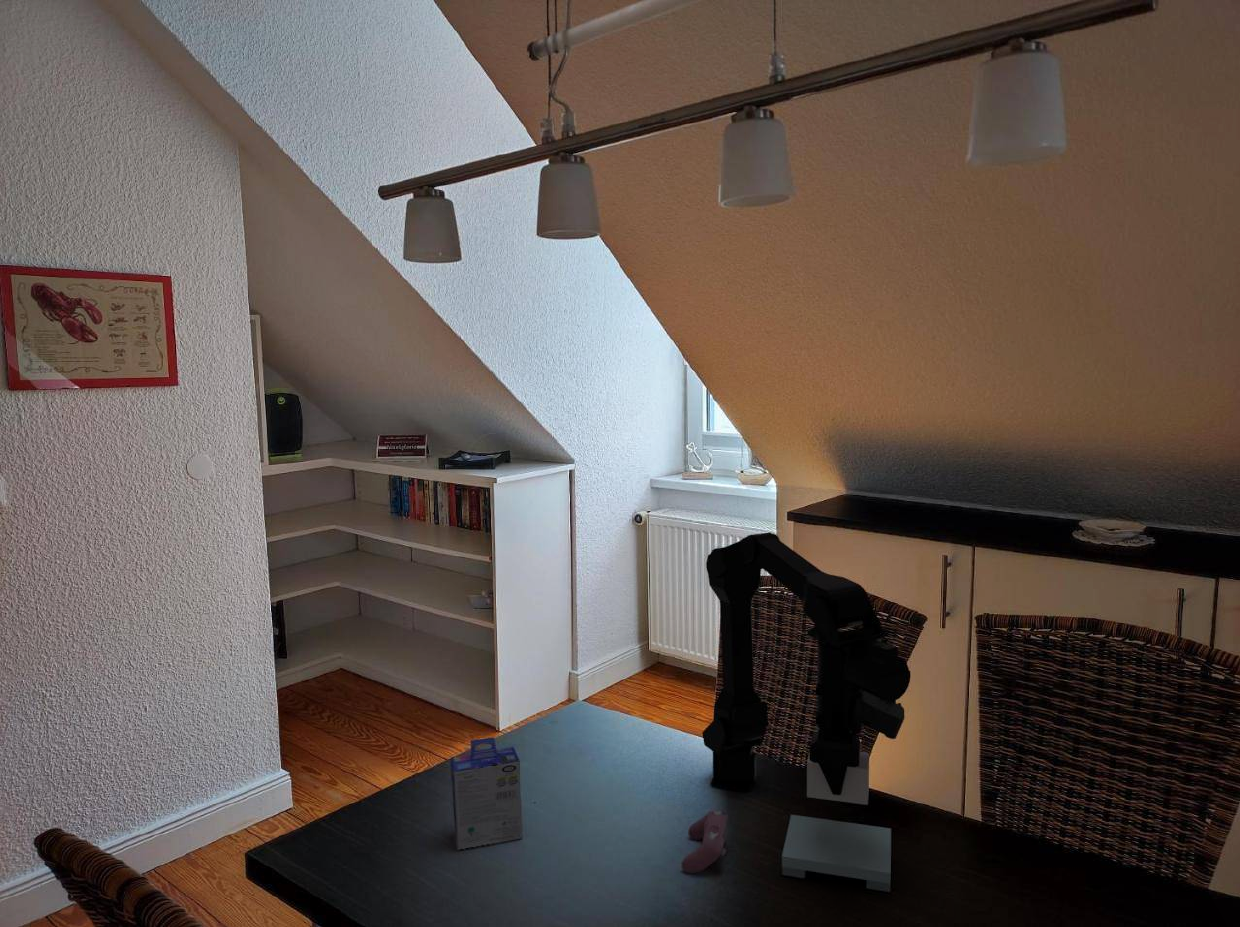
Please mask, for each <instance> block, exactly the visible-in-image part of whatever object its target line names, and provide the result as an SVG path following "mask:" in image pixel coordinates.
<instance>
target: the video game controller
mask: <svg viewBox="0 0 1240 927" xmlns="http://www.w3.org/2000/svg"><path fill="white" fill-rule="evenodd" d="M728 818H729V816H728V814H726V813H725V812H721V811H720V810H718V811H716V810H715V809H713V810H710V811H708V812H707V813H706V815H704V816H703V817H702V818H700V819H699V820H696V821H695V822H693V823H692V824H691V825H690V827H689V828H688V836H689V838H691V839H692V840H696V841H697V840H702V843H701V844H700V845H699V847H697V848H695V850H693V851H692V852H690V853H689V854H688V855H686V856H685V857H684V858H683V860H682V862H681V869H682V871H684V872H685V873H687V874H695V873H699V872H701V871H703V870H705V869H706V868H708V867H709V866H710V865H712V864H713V863H715V862H716V861H717V860H718V858H719V856H720V858H722V857H723V856H724V855H725V854H726V848H725V847H724V844H725V838H724V833H725V830H726V825H727V821H728Z"/></svg>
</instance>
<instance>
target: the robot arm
mask: <svg viewBox="0 0 1240 927" xmlns="http://www.w3.org/2000/svg"><path fill="white" fill-rule="evenodd" d="M705 564H706V565H705V567H706V571H707V574H708V576H707V578H708V582H709V587H710V588H711V590H712V591H713V592H714V594H715V596H716V597H717V599H718V600H719V610H720V611H719V612H720V613H719V614H720V635H721V636H720V638H721V664H722V666H721V668H722V669H721V670H722V689H721V691H720V693H719V694H718V697H717V699H716V700H715V702H714V705H713V718H712V719H713V720H712V721H711V722H710V723H709V724H708V726H707V727H705V729H704V730H703V731H702V733H701V734H702V739H703V744H704V747H706V748H708V750H710V751H711V752H712V778H711V780H710V786H711V787H712V788H719V789H725V790H726V789H727V790H734V791H742V792H750V791H751V789H752V787H753V784H754V783H756V779H757V777H758V776H757V774H758V768H757V767H758V765H757V764H758V760H757V759H758V757H757V756H758V755H757V754H758V753H757V752H754V747H756V746H762V745H763V742H764V738H765V735H766V734H767V730H768V727H769V726H770V724H769V723H770V722H769V719H768V706H769V705H768V704H767V702H766V701H764V700H762V698H760V696H759V695H758V693H757V692H756V690H755V681H754V680H755V679H754V676H755V675H754V654H753V653H754V652H753V650H754V649H753V646H754V645H753V624H752V620H753V619H752V600H753V598H754V596H755V594H756V593H757V591H758V589H759V586H760V584H761V579H762V578H761V576H762V575H761V574H762V570H764V571H765V572H766V573H767V574H769V575H770V576H771V577H773V578H774V579H775V580H776V581H777V582H779V583H780V584H781V585H783V586H784V587H785V588H786V589H788V590H789V591H790V592H791V593H792V594H794V595H795V596H796V597H797V598H798V599H799V600H800V601H801V605H802V610H803V611H802V612H803V614H805V615H806V616H807V617H808V618H809V620H810V621H811V622H812V623H813V624H814V626H813V627H812V628H810V629H809V630H807V635H808V637H810V638H812V639H814V640H816V641H817V654H816V655H817V659H816V660H817V669H816V670H817V671H816V672H817V674H816V675H817V676H816V678H817V680H816V685H815V695H816V715H815V725H817V727H818V730H816V732H814V733H813V734H812V735H811V738H810V743H809V751H810V753H809V752H808V755H809V760H810V761H812V762H813V763H818V764H819V766H820V768H821V770H822V772H823V774H824V776H825V779H826V781H827V783H828V785H829V787H830V790H831V792H832V794H834V795H841V792H842V788H843V783H844V779H845V775H846V771H847V767H857V766H859V763H860V752H861V740H860V739H859V738H858V736H857V735H858V734H859V733H861V732H862V731H863V726H865V727H867V728H869V729H871V730H873V731H875V732H878V733H880V734H883V735H884V736H885V737H886V738H888V739H889V740H895V739H897V736H898V734H899V731H901V730H900V729H901V727H902V725H903V723H904V721H905V708H904V707H903V706H902V702H897V700H899V699H900V698H901V697H903V696H904V695H905V693H906V692H907V690H908V688H909V685H910V683H911V674H912V673H911V671H910V669H909V666H908V664H907V662H906V660H904V658H902V657H900V656H899V648H898V647H897V646H895V645H892V644H886V643H883V642H880V641H879V640H883V639H885V638H886V634H885V631H884V629H883V627H882V625H883V624H882V622H881V621H880V619H879V617H878V616H877V614H876V611H875V609H874V606H873V604H872V602H871V599H870V597H869V596H868V592H867V591H866V589H865V588H864V587H863V586H862V585H861V584H860V583H857V582H855V581H853V580H851V579H848V578H846V577H843V576H839V575H835V574H829V573H827V572H824V571H823V570H821V569H820V568H818V567H816V566H815V565H813V564H812V563H811V562H810V561H809V560H807V559H805V557H803V556H801V555H800V554H799V553H798V552H796V551H795V550H793V549H792V548H791V547H790V546H788V545H787V544H785V543H784V542H783V541H781V540H780V537H779V536H778V535H777V534H775V533H773V532H761V533H754V534H748V535H746V536H745V537H743V538H741V539H740V540H739V541H736V542H734V543H731V544H728V545H726V546H724V547H717V548H714V549H712V550H711V552H710V554H708V555H707V559H706V563H705ZM861 625H863V627H859V628H855V629H850V630H842V629H845V628H851V627H855V626H861Z"/></svg>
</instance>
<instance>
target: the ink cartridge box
mask: <svg viewBox="0 0 1240 927" xmlns="http://www.w3.org/2000/svg"><path fill="white" fill-rule="evenodd" d="M483 744H485V745H491V747H490V748H483V749H480V750H479V749H478V750H476V749H475V748H476V747H478V746H481V745H483ZM496 746H497V745H496V741H495V737H485V738H481V739H479V738H478V739H472V740H470V753H469V754H464V755H458V756H452V757H450V759H449V762H450V774H451V776H450V778H451V790H452V792H451V793H452V805H453V820H454V821H453V823H454V833H453V834H454V836H455V837H454V842H455V841H456V842H455V847H456V846H457V847H456V850H457V849H458V850H457V851H460V850H459V849H464V850H466V849H465V848H469V847H474V848H477V847H476V846H479V847H482V846H481V845H484V846H488V845H487V844H489V845H495V844H499V843H505V842H510V841H515V840H521V839H523V837H524V836H523V818H522V817H523V815H522V814H523V813H522V797H521V796H522V795H521V793H522V792H521V762H520V758H519V756H518V754H517V752H516V749H515V748H514V746H509V747H504V748H498V749H497V747H496ZM494 843H495V844H494ZM469 849H470V848H469Z"/></svg>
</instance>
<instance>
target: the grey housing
mask: <svg viewBox="0 0 1240 927" xmlns="http://www.w3.org/2000/svg"><path fill="white" fill-rule="evenodd" d="M809 753H810V750H809V752H808V755H807V756H808V757H807V762H806V798H811V799H817V800H828V801H832V802H833V801H834V802H835V801H836V802H844V803H849V804H850V803H851V804H857V805H867V806H868V805H869V792H870V791H869V789H870V752H867V751H866V752H864V751H860V763H859V766H857V767H847V771H846V775H845V779H844V783H843V788H842V792H841V795H834V794H832V792H831V790H830V787H829V785H828V783H827V781H826V779H825V776H824V774H823V772H822V770H821V768H820V766H819V764H818V763H813V762H812V761H810V760H809Z"/></svg>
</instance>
